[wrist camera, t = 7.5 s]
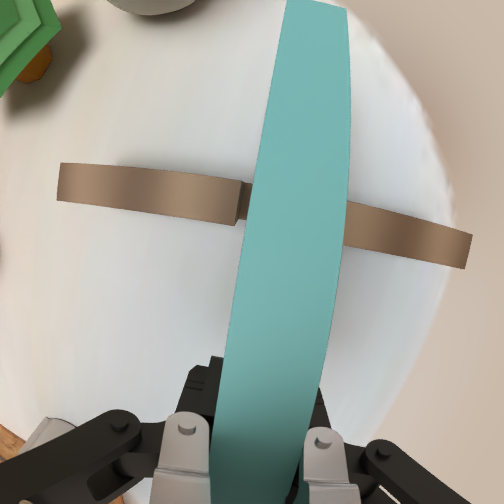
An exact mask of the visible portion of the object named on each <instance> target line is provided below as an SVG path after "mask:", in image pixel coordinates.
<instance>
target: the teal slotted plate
mask: <svg viewBox="0 0 504 504" xmlns="http://www.w3.org/2000/svg"><path fill="white" fill-rule="evenodd" d="M350 122H351V87H350V55H349V37H348V24H347V12H346V9H345V8H341V7H337V6H334V5H330V4H326V3H322V2H317V1H313V0H287V3H286V8H285V13H284V18H283V23H282V29H281V34H280V39H279V44H278V50H277V55H276V60H275V65H274V71H273V76H272V82H271V87H270V92H269V98H268V103H267V109H266V114H265V120H264V125H263V131H262V136H261V142H260V147H259V153H258V159H257V164H256V170H255V176H254V181H253V187H252V193H251V198H250V204H249V210H248V216H247V222H246V227H245V233H244V239H243V245H242V251H241V257H240V263H239V269H238V275H237V281H236V287H235V293H234V299H233V305H232V311H231V317H230V324H229V330H228V336H227V342H226V349H225V355H224V361H223V367H222V374H221V380H220V387H219V393H218V400H217V406H216V413H215V419H214V426H213V432H212V439H211V446H210V453H209V474H210V497H211V504H283V501H284V499H285V496H288V494H289V491H290V488H291V485H292V482H293V479H294V476H295V472H296V469H297V466H298V463H299V459H300V456H301V453H302V449H303V446H304V442H305V439H306V435H307V431H308V428H309V424H310V420H311V416H312V412H313V408H314V404H315V400H316V396H317V391H318V387H319V383H320V378H321V374H322V369H323V364H324V359H325V354H326V349H327V344H328V339H329V333H330V328H331V322H332V316H333V310H334V304H335V298H336V291H337V284H338V277H339V270H340V262H341V254H342V245H343V236H344V226H345V216H346V204H347V191H348V176H349V156H350Z"/></svg>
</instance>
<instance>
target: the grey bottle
mask: <svg viewBox="0 0 504 504" xmlns="http://www.w3.org/2000/svg"><path fill="white" fill-rule="evenodd" d="M108 1H109V2H110V3H111V4H113V5H114V6H116V7H117V8H119V9H122V10H124V11H126V12H130V13H133V14H138V15H158V14H164V13H169V12H173V11H176V10H179V9H182V8H184V7H186V6H188V5H190V4H191V3H193V2H194V1H195V0H108Z"/></svg>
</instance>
